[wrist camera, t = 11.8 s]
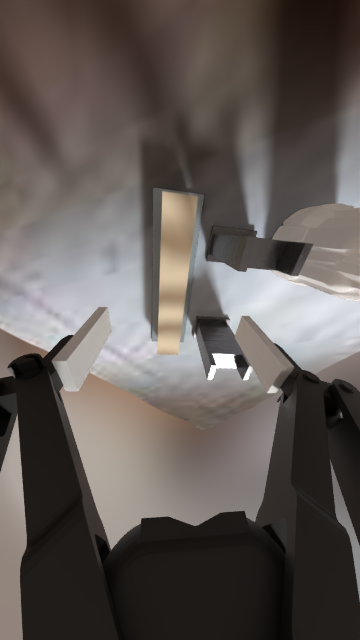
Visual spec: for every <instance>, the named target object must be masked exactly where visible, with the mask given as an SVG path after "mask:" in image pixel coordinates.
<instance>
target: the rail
mask: <svg viewBox="0 0 360 640" xmlns="http://www.w3.org/2000/svg"><path fill="white" fill-rule="evenodd" d="M197 201H198V196H193V195H186V194H179V193H171V192H164V191H162V221H161V252H160V284H159V315H158V346H157V354H168V355H178V353H179V345H180V337H181V329H182V321H183V313H184V305H185V297H186V289H187V281H188V273H189V265H190V257H191V249H192V241H193V233H194V225H195V217H196V209H197Z"/></svg>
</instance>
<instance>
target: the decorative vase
mask: <svg viewBox="0 0 360 640" xmlns="http://www.w3.org/2000/svg"><path fill="white" fill-rule="evenodd" d="M272 239H273V240H281V241H291V242H302V243H311V244H313V246H312V248H311V251H310V253H309V255H308V257H307V259H306V261H305V263H304V265H303V267H302V269H301V271H300V273H299V275H298V276H290V275H287V274H284V273H282V272H279V271H276V270H270V271H271V272H272V273H273V274H274V275H276V276H277V277H279V278H282V279H284V280H287V281H289V282H291V283H294V284H298V285H302V286H310V287H313V288H315V289H318V290H320V291H323V292H325V293H328V294H330V295H333V296H336V297H338V298H341V299H344V300H356V301H360V208H354V206H348V205H345V204H325V205H319V206H313V207H307V208H305V209H300V210H298V211H296V212H295V213H294V214H292V215H291V216H290V217H289V218H287V219H286V220H285V221H284V222H283V226H280V227H279V228H278V229H277V231H276V232H275V234H274V236H273V237H272Z"/></svg>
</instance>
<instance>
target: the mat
mask: <svg viewBox="0 0 360 640" xmlns="http://www.w3.org/2000/svg"><path fill="white" fill-rule="evenodd" d="M162 191H164V192H171V193H179V194H186V195H193V196H198V201H197V209H196V217H195V225H194V233H193V241H192V249H191V257H190V265H189V273H188V281H187V289H186V297H185V305H184V313H183V321H182V329H181V337H180V342H184V336H185V329H186V321H187V314H188V307H189V300H190V293H191V286H192V278H193V271H194V264H195V257H196V250H197V243H198V236H199V228H200V221H201V214H202V207H203V200H204V195H203V194H196V193H189V192H182V191H175V190H168V189H161V188H154V187H153V271H152V341H158V315H159V284H160V252H161V221H162Z"/></svg>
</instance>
